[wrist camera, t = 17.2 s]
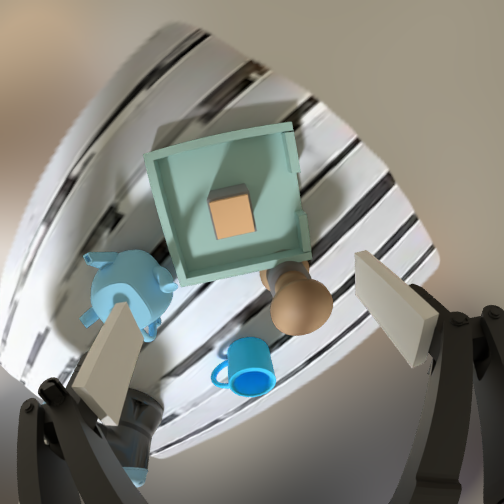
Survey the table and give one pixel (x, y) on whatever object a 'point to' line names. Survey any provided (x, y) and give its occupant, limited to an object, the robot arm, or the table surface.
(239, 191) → the gray and orange block
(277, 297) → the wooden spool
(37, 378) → the table surface
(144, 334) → the teapot
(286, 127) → the pale green tray
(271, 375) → the mug
